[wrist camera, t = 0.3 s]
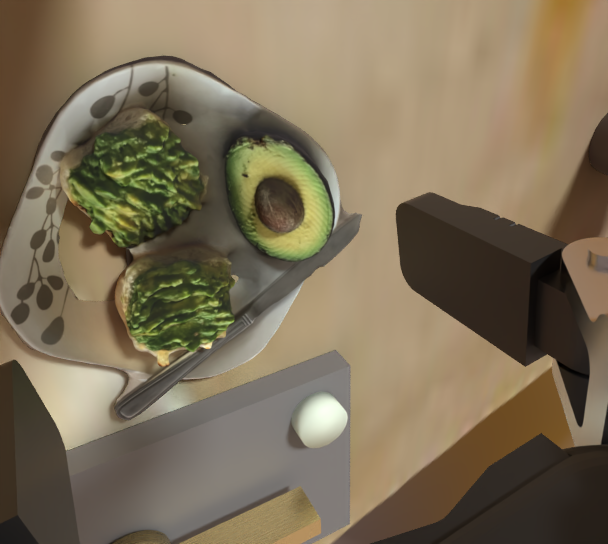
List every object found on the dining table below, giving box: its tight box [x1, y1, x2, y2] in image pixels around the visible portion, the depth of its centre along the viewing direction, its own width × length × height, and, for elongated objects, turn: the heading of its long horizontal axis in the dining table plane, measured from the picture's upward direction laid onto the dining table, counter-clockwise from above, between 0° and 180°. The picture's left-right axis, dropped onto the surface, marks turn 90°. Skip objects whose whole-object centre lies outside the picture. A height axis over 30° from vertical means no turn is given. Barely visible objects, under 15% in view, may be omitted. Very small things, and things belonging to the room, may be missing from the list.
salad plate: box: [0, 56, 362, 420], centre depth 28 cm, size 19×18×5 cm
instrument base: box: [66, 350, 350, 544], centre depth 38 cm, size 18×22×4 cm
